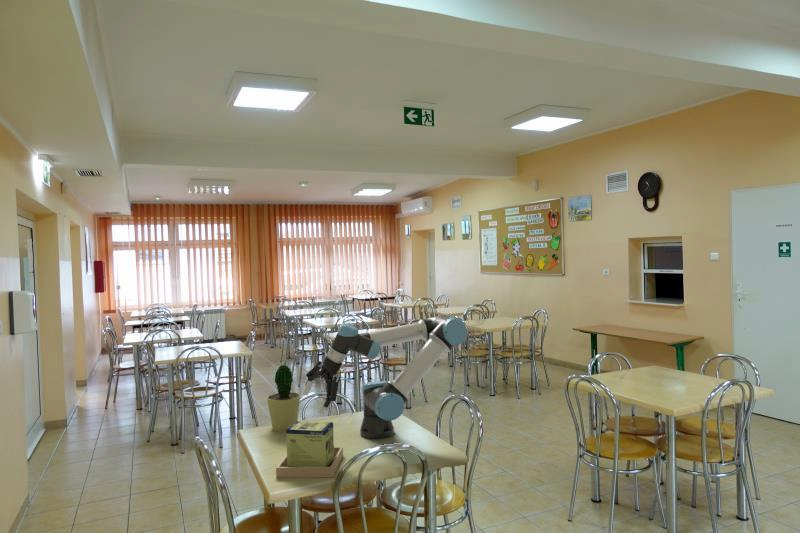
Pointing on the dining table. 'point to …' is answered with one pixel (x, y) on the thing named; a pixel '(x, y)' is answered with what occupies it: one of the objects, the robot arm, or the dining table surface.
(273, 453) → the dining table surface
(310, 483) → the dining table surface
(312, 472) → the tray
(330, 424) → the protein box
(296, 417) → the potted cactus
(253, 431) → the dining table surface
